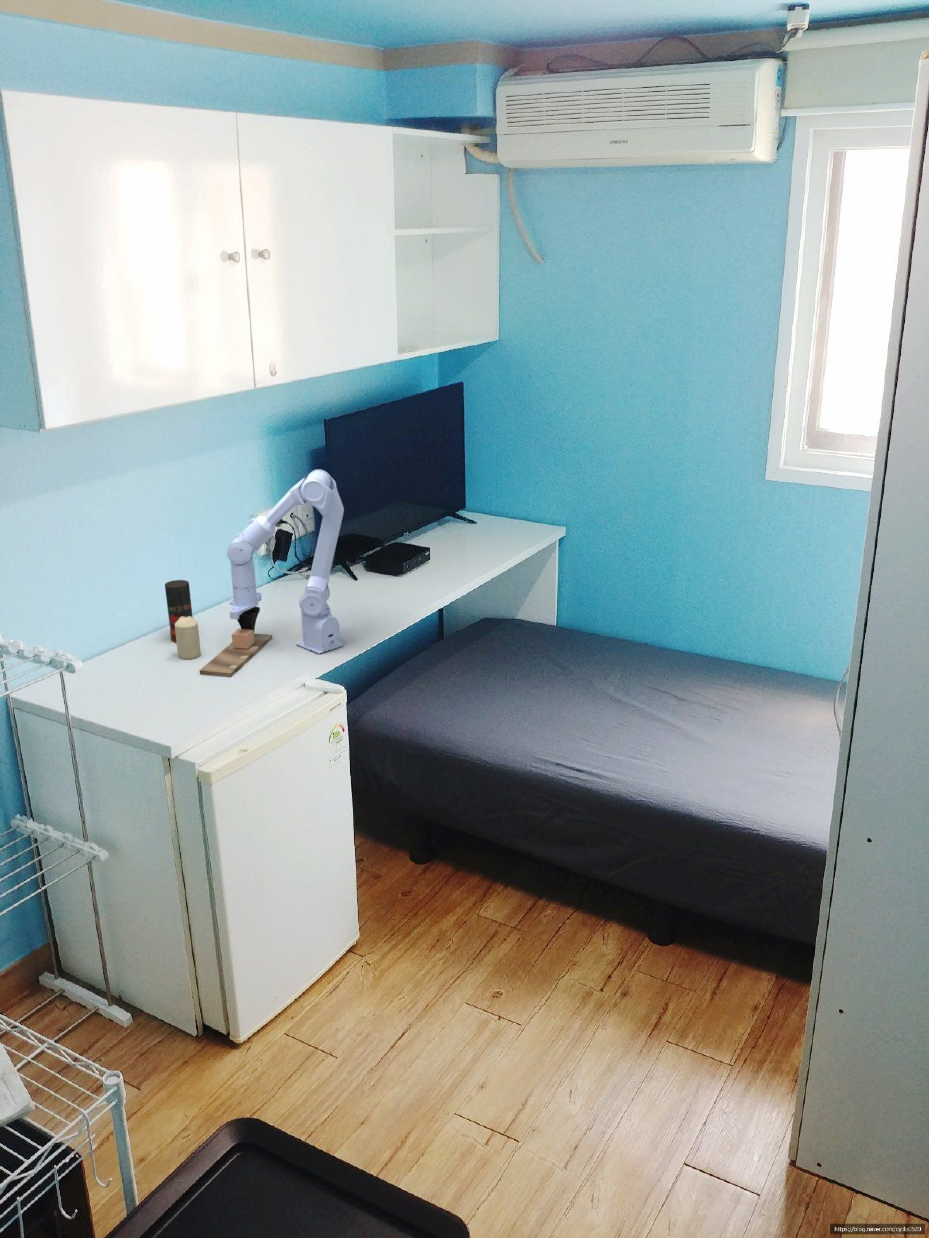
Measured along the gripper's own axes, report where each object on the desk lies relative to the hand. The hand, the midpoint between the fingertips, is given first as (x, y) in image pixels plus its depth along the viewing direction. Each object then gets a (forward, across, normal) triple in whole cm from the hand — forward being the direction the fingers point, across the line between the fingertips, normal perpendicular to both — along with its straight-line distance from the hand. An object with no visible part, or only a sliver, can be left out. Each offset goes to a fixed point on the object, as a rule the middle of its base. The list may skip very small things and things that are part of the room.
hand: (248, 636), depth 271 cm
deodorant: (+3, 0, -19) cm, 19 cm away
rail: (+2, +7, 0) cm, 8 cm away
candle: (+3, +10, -12) cm, 15 cm away
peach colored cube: (+1, +3, 0) cm, 3 cm away
